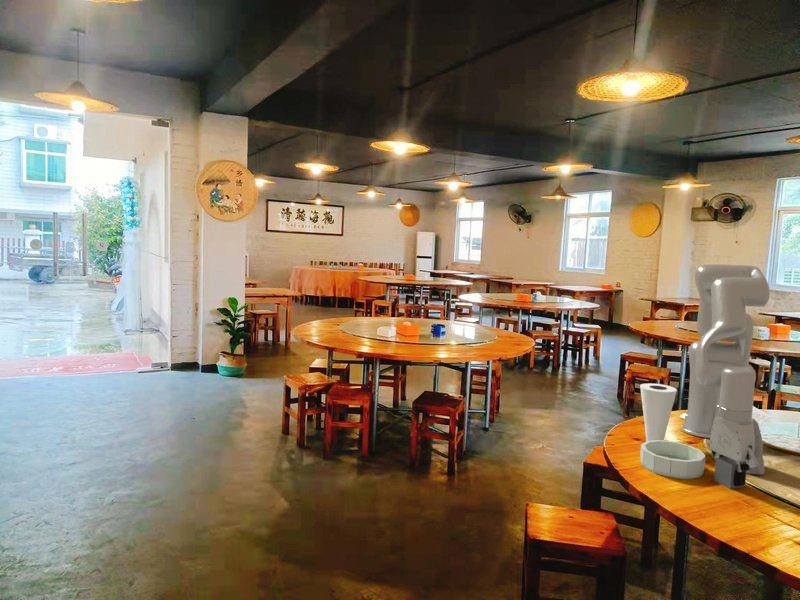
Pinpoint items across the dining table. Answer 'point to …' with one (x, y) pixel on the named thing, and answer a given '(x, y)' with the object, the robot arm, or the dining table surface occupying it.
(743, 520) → the dining table surface
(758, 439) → the decorative stone
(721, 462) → the matte grey cube
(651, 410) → the cup
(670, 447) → the bowl
